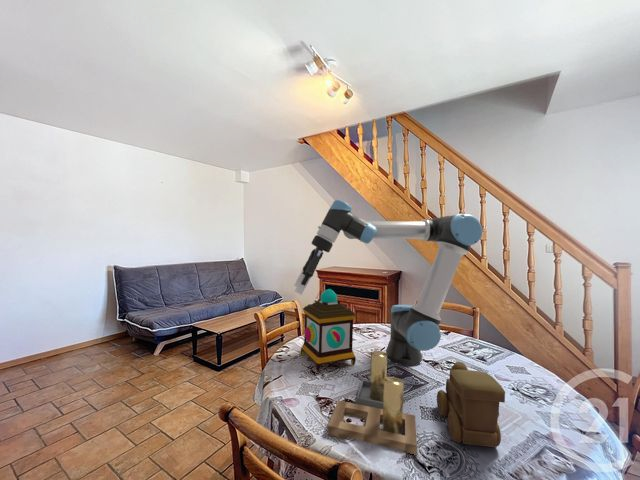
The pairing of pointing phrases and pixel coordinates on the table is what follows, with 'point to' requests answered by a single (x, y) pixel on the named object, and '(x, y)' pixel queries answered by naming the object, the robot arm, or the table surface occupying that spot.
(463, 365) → the wooden toy train
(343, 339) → the decorative lantern
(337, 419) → the wooden holder frame
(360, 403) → the grey square tray
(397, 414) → the cylinder
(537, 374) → the table surface
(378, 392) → the cylinder
